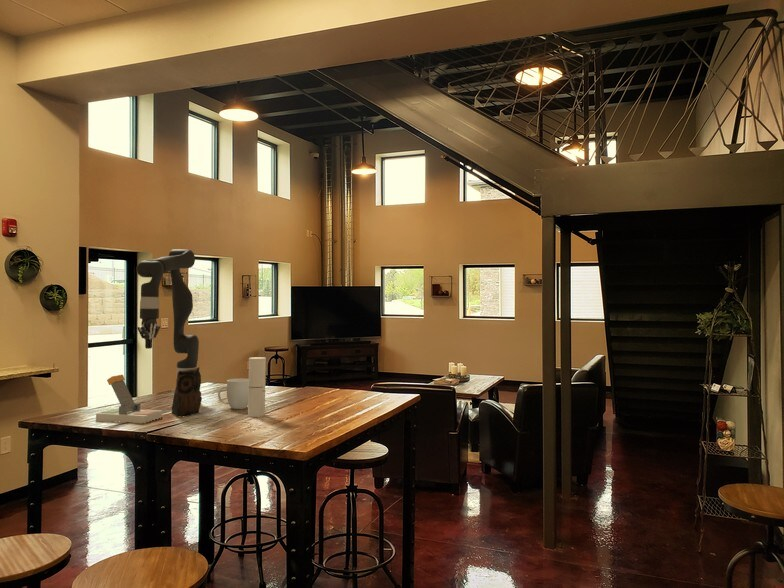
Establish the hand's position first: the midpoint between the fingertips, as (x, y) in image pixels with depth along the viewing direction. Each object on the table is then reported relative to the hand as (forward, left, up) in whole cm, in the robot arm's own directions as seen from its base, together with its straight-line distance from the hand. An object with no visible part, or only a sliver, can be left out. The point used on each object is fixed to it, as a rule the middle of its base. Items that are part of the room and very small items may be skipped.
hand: (148, 348), depth 232 cm
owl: (-15, -3, -29) cm, 33 cm away
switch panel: (+7, +2, -29) cm, 30 cm away
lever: (+6, +2, -26) cm, 27 cm away
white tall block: (-43, +13, -29) cm, 54 cm away
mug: (-38, -8, -29) cm, 49 cm away
